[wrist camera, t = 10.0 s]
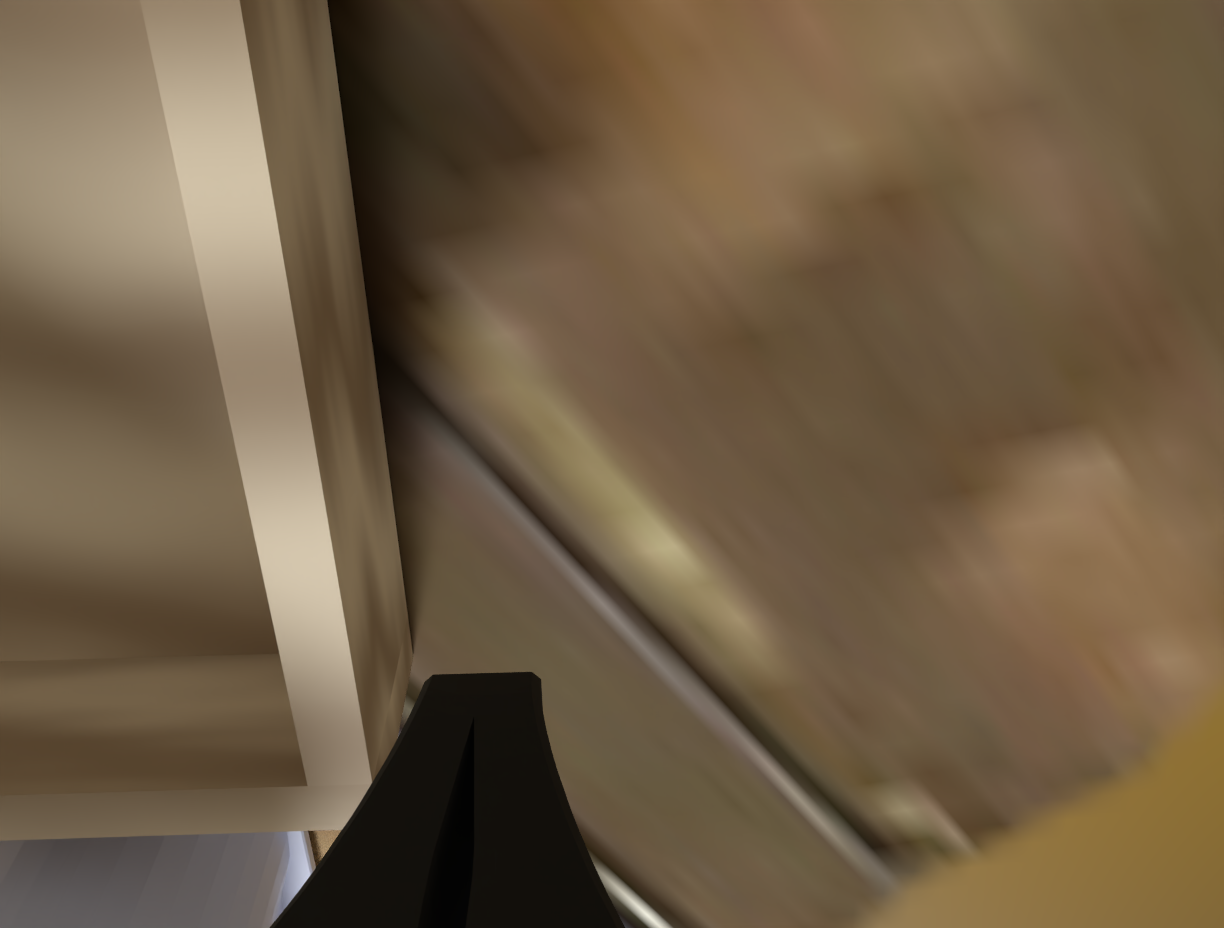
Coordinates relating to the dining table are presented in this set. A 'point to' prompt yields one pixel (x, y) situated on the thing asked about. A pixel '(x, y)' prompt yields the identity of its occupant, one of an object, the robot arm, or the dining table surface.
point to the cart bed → (187, 429)
